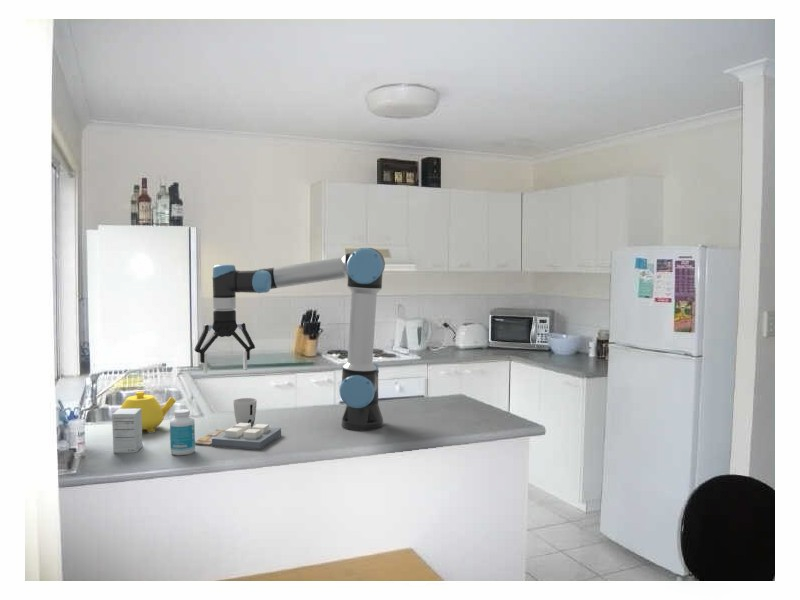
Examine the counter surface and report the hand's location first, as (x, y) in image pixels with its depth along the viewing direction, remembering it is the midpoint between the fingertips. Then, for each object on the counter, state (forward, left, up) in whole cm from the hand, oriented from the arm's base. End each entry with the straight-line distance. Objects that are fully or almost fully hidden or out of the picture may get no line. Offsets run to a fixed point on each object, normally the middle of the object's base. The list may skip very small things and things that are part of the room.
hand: (225, 370), depth 240 cm
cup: (-3, -9, -22) cm, 24 cm away
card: (+2, +6, -22) cm, 23 cm away
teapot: (+30, +1, -22) cm, 38 cm away
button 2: (-8, +3, -20) cm, 22 cm away
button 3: (-14, +10, -20) cm, 27 cm away
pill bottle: (+3, +23, -22) cm, 32 cm away
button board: (-11, +6, -22) cm, 25 cm away
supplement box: (+22, +24, -22) cm, 40 cm away
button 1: (-8, +10, -20) cm, 24 cm away
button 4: (-14, +3, -20) cm, 25 cm away
